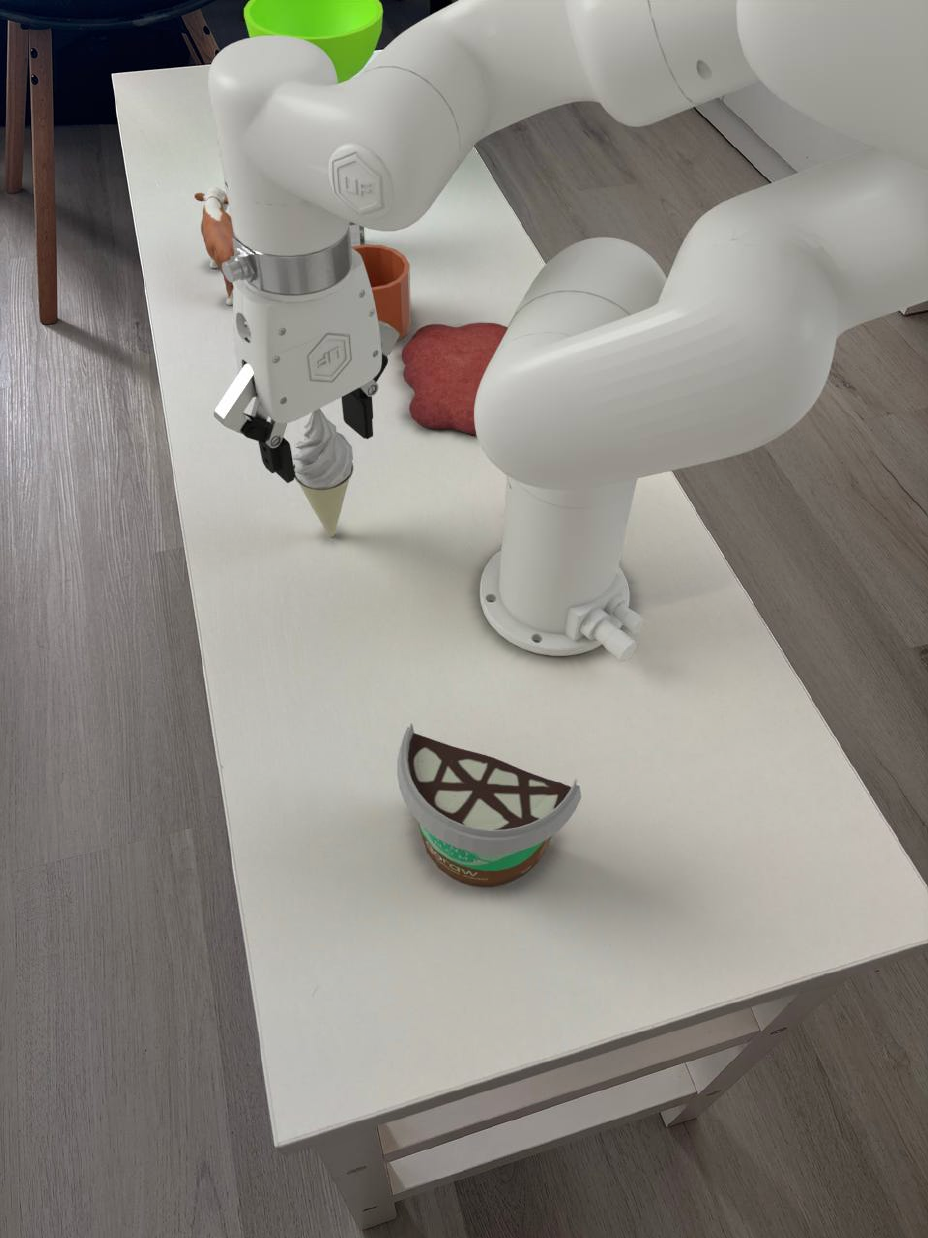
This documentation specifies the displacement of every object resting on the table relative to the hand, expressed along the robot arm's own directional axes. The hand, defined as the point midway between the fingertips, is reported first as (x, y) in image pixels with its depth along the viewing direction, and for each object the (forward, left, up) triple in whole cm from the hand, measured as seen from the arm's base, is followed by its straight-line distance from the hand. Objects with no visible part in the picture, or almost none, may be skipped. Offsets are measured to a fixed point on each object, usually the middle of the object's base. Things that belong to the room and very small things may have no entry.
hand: (320, 449), depth 79 cm
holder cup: (+22, -22, -10) cm, 33 cm away
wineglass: (+53, -39, -10) cm, 67 cm away
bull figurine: (+39, -15, -10) cm, 43 cm away
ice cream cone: (0, 0, -10) cm, 10 cm away
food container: (-31, +11, -10) cm, 34 cm away
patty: (+8, -24, -10) cm, 27 cm away
